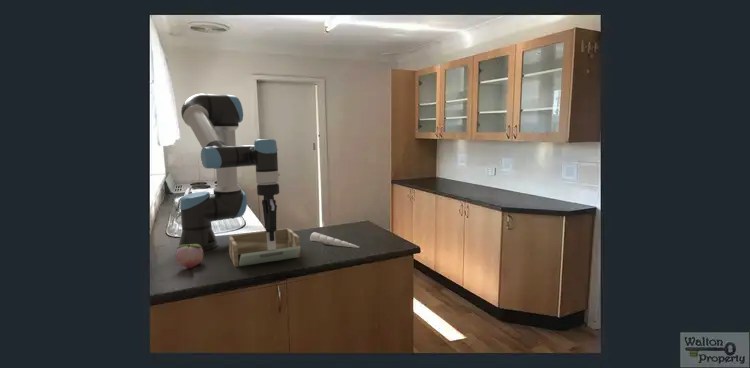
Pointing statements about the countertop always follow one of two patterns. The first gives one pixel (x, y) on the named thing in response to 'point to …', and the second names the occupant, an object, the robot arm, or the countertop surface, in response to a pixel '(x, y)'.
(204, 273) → the countertop surface
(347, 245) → the unicorn horn
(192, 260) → the decorative fruit
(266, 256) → the pale green panel
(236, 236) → the box
